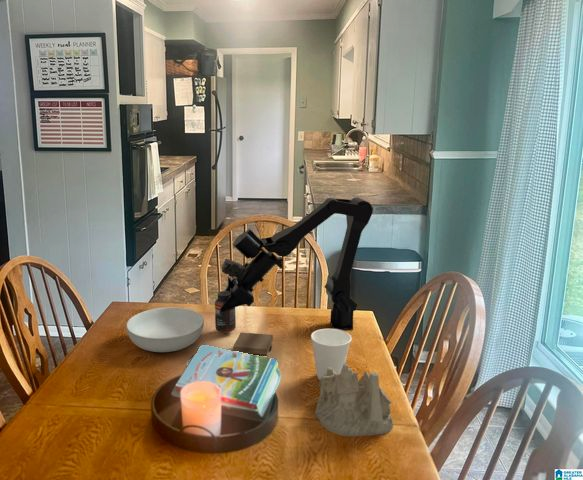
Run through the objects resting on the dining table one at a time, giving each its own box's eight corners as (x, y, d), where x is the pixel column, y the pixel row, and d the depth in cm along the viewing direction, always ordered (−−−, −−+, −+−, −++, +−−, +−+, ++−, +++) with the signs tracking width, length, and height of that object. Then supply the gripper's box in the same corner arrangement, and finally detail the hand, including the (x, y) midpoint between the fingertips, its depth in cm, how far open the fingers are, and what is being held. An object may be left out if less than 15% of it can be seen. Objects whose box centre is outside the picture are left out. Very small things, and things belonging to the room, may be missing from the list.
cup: (354, 373, 131) (357, 333, 129) (341, 391, 123) (343, 349, 120) (318, 364, 135) (319, 325, 133) (302, 382, 127) (304, 340, 124)
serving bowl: (111, 352, 139) (109, 328, 138) (158, 323, 158) (157, 302, 157) (176, 368, 132) (176, 343, 130) (218, 336, 151) (218, 314, 149)
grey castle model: (397, 437, 106) (399, 367, 103) (317, 438, 106) (316, 369, 103) (384, 399, 121) (385, 338, 119) (313, 401, 121) (313, 339, 119)
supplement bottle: (237, 325, 155) (237, 289, 153) (233, 334, 150) (232, 297, 147) (217, 324, 156) (217, 288, 153) (213, 332, 150) (212, 295, 147)
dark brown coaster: (272, 348, 144) (272, 334, 143) (266, 363, 135) (267, 349, 134) (240, 345, 145) (240, 332, 144) (233, 360, 136) (232, 346, 135)
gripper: (234, 242, 156) (198, 278, 157) (241, 259, 139) (200, 301, 139) (260, 265, 160) (225, 301, 161) (270, 285, 142) (230, 326, 143)
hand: (220, 306), depth 151 cm, fingers closed on supplement bottle, 6 cm apart
